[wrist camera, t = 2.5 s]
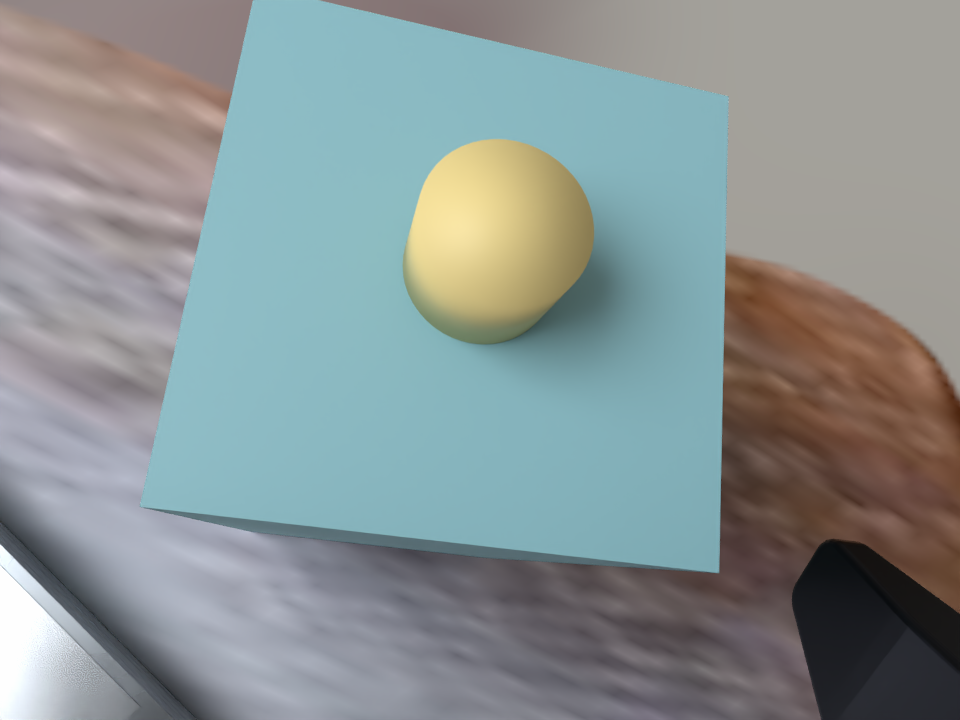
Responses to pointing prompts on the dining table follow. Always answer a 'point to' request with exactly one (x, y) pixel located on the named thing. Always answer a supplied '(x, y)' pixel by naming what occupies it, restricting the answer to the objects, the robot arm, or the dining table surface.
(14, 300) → the dining table surface
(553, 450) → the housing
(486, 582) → the dining table surface
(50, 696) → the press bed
